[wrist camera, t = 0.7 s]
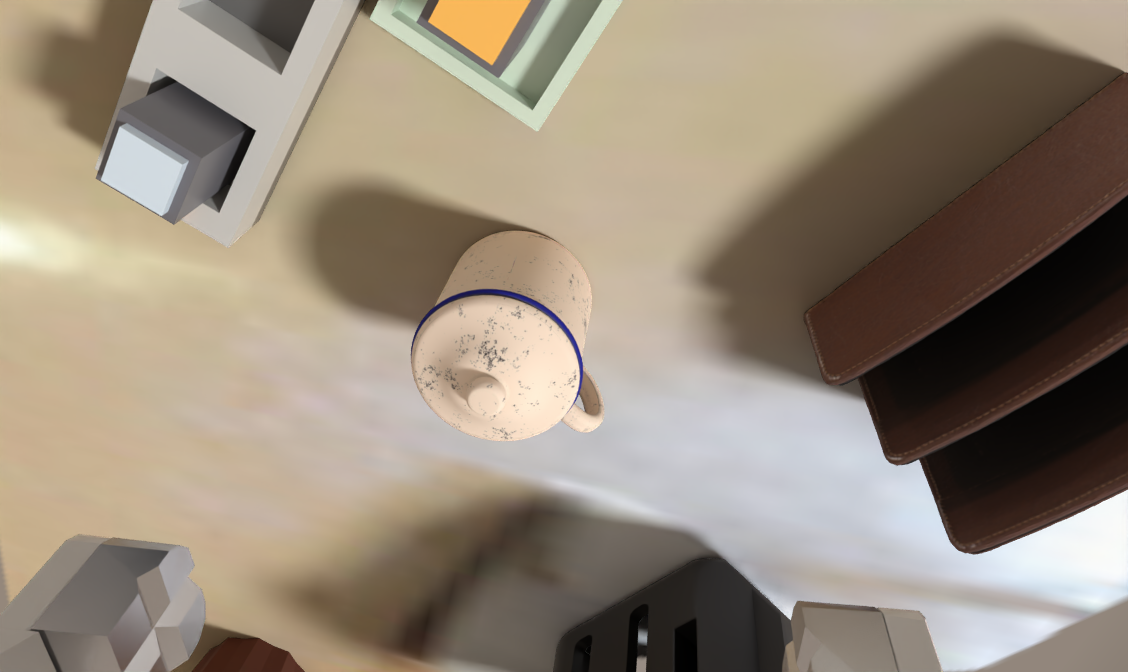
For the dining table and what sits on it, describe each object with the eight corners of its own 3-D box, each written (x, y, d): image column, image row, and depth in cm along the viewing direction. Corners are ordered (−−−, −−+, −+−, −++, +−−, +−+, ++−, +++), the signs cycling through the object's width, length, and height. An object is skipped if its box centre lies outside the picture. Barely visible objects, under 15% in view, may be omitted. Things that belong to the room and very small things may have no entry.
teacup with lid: (418, 287, 52) (356, 393, 42) (519, 193, 48) (477, 284, 38) (555, 410, 55) (528, 534, 45) (660, 331, 51) (655, 448, 41)
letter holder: (1229, 204, 44) (1440, 340, 32) (903, 414, 52) (971, 584, 40) (1124, 66, 41) (1312, 158, 29) (799, 311, 50) (839, 461, 38)
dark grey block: (193, 74, 45) (112, 111, 39) (263, 118, 46) (195, 162, 40) (169, 136, 47) (88, 182, 41) (236, 177, 48) (167, 229, 42)
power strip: (293, -283, 38) (248, -298, 34) (446, -170, 39) (420, -172, 35) (135, 146, 49) (88, 172, 45) (258, 220, 51) (223, 252, 47)
